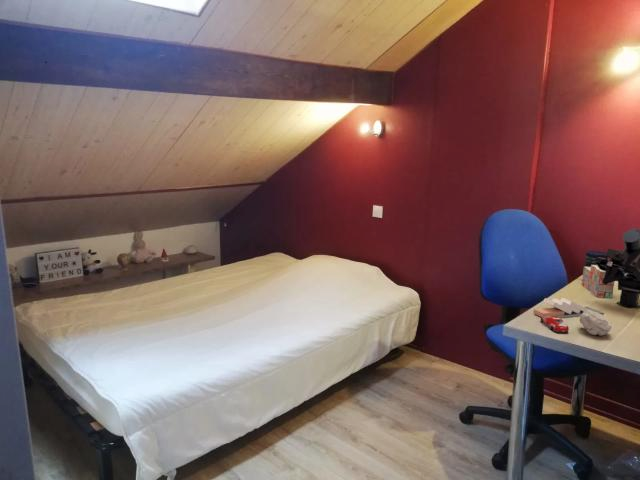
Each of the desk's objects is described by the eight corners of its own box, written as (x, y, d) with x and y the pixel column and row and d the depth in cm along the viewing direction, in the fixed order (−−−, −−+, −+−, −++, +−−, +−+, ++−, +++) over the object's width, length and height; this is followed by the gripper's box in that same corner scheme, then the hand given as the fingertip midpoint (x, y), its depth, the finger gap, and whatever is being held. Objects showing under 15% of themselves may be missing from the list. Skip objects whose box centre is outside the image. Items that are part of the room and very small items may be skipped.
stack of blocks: (581, 284, 230) (584, 260, 227) (595, 285, 228) (598, 261, 226) (596, 297, 209) (600, 270, 207) (612, 299, 208) (616, 271, 206)
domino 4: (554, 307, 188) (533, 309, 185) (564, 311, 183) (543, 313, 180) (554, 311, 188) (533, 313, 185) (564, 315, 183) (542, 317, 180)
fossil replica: (594, 326, 174) (570, 330, 172) (594, 304, 173) (569, 308, 171) (620, 336, 162) (595, 340, 160) (620, 313, 161) (595, 316, 159)
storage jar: (579, 282, 234) (583, 252, 231) (584, 278, 241) (588, 249, 239) (602, 286, 228) (607, 255, 225) (606, 282, 235) (610, 252, 232)
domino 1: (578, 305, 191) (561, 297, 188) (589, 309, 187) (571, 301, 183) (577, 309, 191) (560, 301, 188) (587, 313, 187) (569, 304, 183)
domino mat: (586, 307, 195) (587, 306, 195) (603, 313, 187) (603, 312, 187) (543, 311, 188) (543, 310, 188) (558, 318, 181) (558, 317, 181)
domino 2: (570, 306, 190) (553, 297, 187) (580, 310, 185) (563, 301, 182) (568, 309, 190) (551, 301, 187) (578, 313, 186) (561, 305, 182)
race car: (538, 321, 178) (539, 311, 178) (552, 321, 178) (553, 311, 178) (554, 334, 165) (555, 323, 165) (570, 334, 165) (571, 324, 165)
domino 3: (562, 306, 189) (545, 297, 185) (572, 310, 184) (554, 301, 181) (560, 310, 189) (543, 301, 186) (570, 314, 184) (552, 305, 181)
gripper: (600, 238, 197) (575, 265, 197) (641, 246, 180) (614, 276, 179) (613, 255, 201) (588, 282, 200) (654, 266, 183) (627, 295, 182)
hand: (603, 283), depth 190 cm, fingers closed
